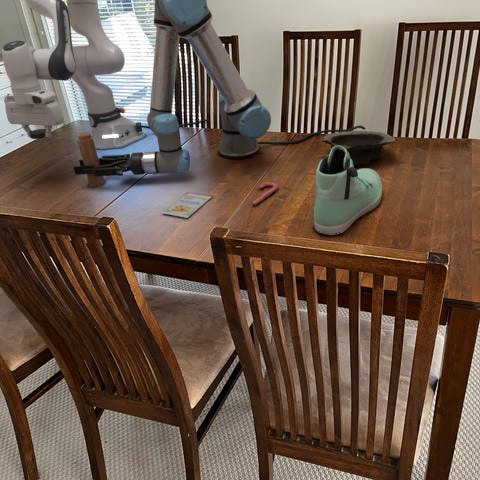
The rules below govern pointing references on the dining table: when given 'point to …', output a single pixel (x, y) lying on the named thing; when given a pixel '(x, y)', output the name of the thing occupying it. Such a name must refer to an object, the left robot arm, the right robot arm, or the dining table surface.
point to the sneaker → (343, 192)
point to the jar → (89, 156)
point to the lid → (37, 134)
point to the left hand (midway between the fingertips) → (40, 137)
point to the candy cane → (266, 192)
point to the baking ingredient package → (187, 205)
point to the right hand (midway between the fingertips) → (77, 167)
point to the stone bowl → (360, 144)
